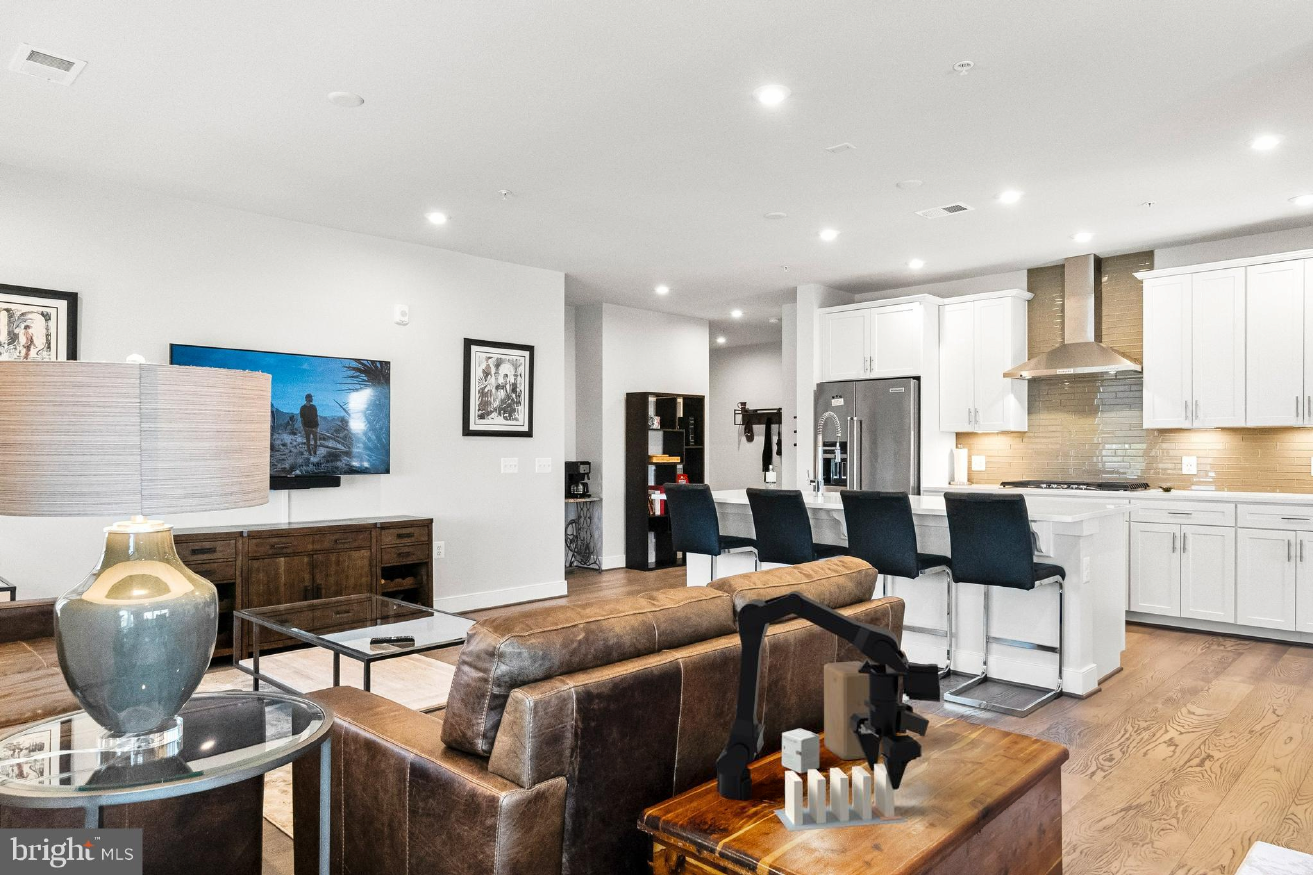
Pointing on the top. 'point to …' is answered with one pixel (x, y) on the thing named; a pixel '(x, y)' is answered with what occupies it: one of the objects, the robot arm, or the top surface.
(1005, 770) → the top surface
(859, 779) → the domino
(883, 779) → the end domino
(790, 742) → the skincare box
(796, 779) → the domino
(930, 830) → the top surface
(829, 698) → the wooden block
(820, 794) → the domino
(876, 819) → the domino board
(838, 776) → the domino
